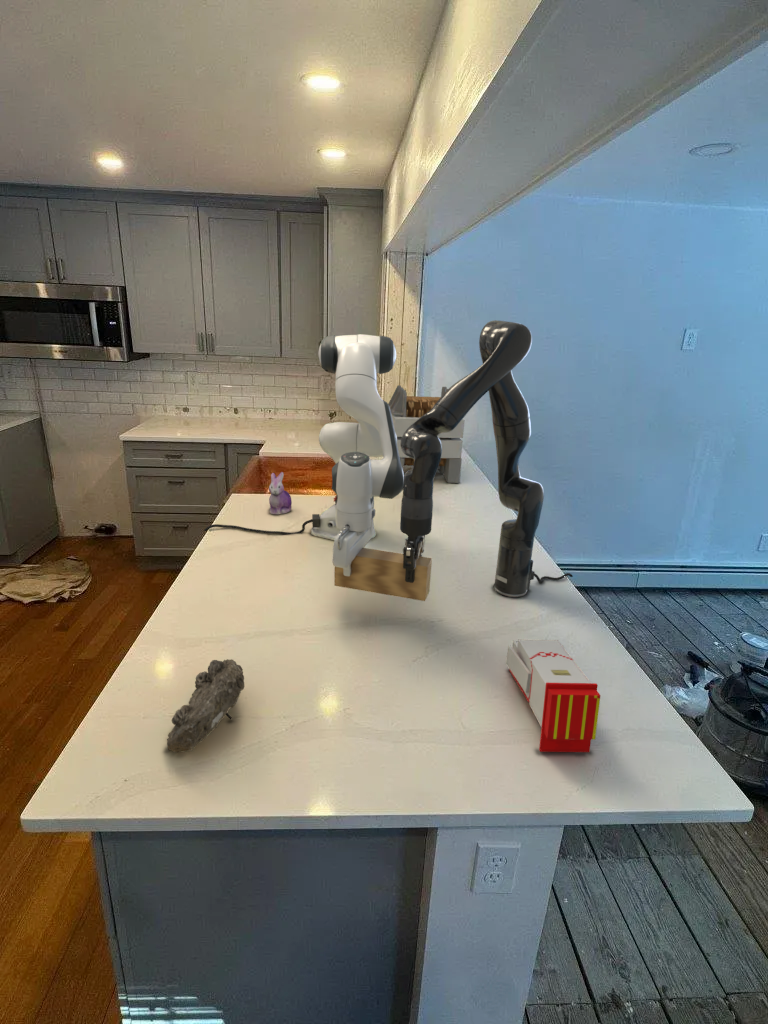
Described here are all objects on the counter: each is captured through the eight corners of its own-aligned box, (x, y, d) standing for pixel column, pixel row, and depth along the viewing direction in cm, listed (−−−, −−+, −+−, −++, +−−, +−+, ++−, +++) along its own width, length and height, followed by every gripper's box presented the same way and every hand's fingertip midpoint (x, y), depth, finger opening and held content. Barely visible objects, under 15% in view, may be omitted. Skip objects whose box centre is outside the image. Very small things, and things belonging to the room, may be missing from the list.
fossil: (192, 660, 117) (244, 628, 112) (224, 691, 120) (276, 661, 115) (142, 746, 98) (202, 712, 93) (182, 779, 101) (242, 748, 96)
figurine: (272, 516, 210) (271, 477, 205) (264, 508, 219) (263, 470, 213) (296, 513, 214) (296, 475, 209) (287, 505, 223) (287, 468, 218)
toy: (554, 622, 128) (610, 691, 98) (548, 677, 130) (601, 759, 101) (501, 621, 127) (541, 690, 98) (496, 676, 130) (534, 758, 101)
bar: (334, 585, 145) (334, 552, 142) (341, 576, 150) (342, 544, 147) (425, 601, 139) (427, 566, 136) (429, 591, 144) (432, 558, 141)
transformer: (382, 463, 289) (386, 382, 275) (445, 464, 293) (451, 384, 279) (390, 482, 257) (394, 392, 243) (460, 483, 261) (468, 394, 247)
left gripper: (351, 535, 130) (350, 589, 135) (377, 507, 149) (375, 555, 153) (326, 531, 132) (325, 584, 136) (354, 504, 150) (353, 552, 155)
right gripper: (425, 525, 128) (421, 592, 134) (437, 505, 141) (433, 567, 147) (393, 520, 130) (390, 586, 135) (408, 501, 143) (404, 562, 148)
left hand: (352, 569), depth 145 cm, fingers closed on bar, 5 cm apart
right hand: (412, 576), depth 141 cm, fingers closed on bar, 5 cm apart
